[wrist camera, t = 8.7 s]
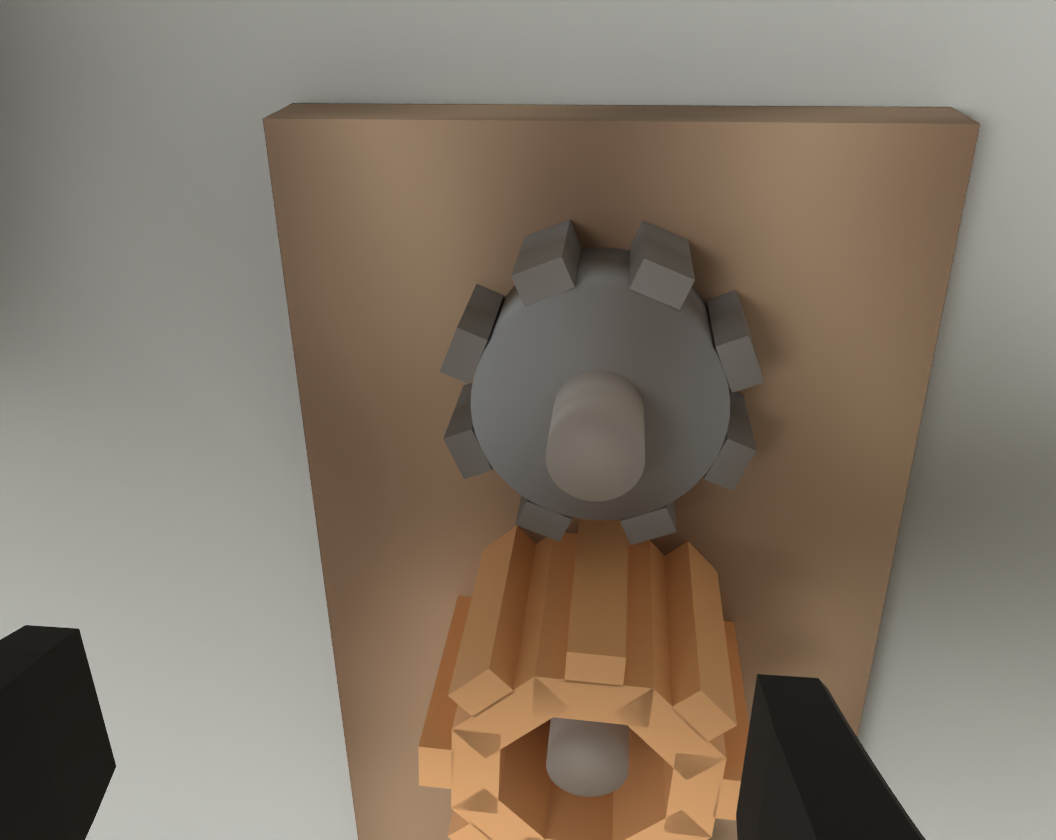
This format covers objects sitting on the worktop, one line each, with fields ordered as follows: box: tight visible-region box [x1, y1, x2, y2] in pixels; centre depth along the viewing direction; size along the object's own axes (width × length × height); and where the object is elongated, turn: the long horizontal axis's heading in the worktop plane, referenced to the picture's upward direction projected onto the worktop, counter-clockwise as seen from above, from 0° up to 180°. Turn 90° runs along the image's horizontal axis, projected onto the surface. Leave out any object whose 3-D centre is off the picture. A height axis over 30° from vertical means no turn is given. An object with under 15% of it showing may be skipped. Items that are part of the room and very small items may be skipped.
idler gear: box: [418, 519, 749, 840], centre depth 17 cm, size 6×6×4 cm
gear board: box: [263, 103, 980, 840], centre depth 18 cm, size 11×20×5 cm, turn 1°
